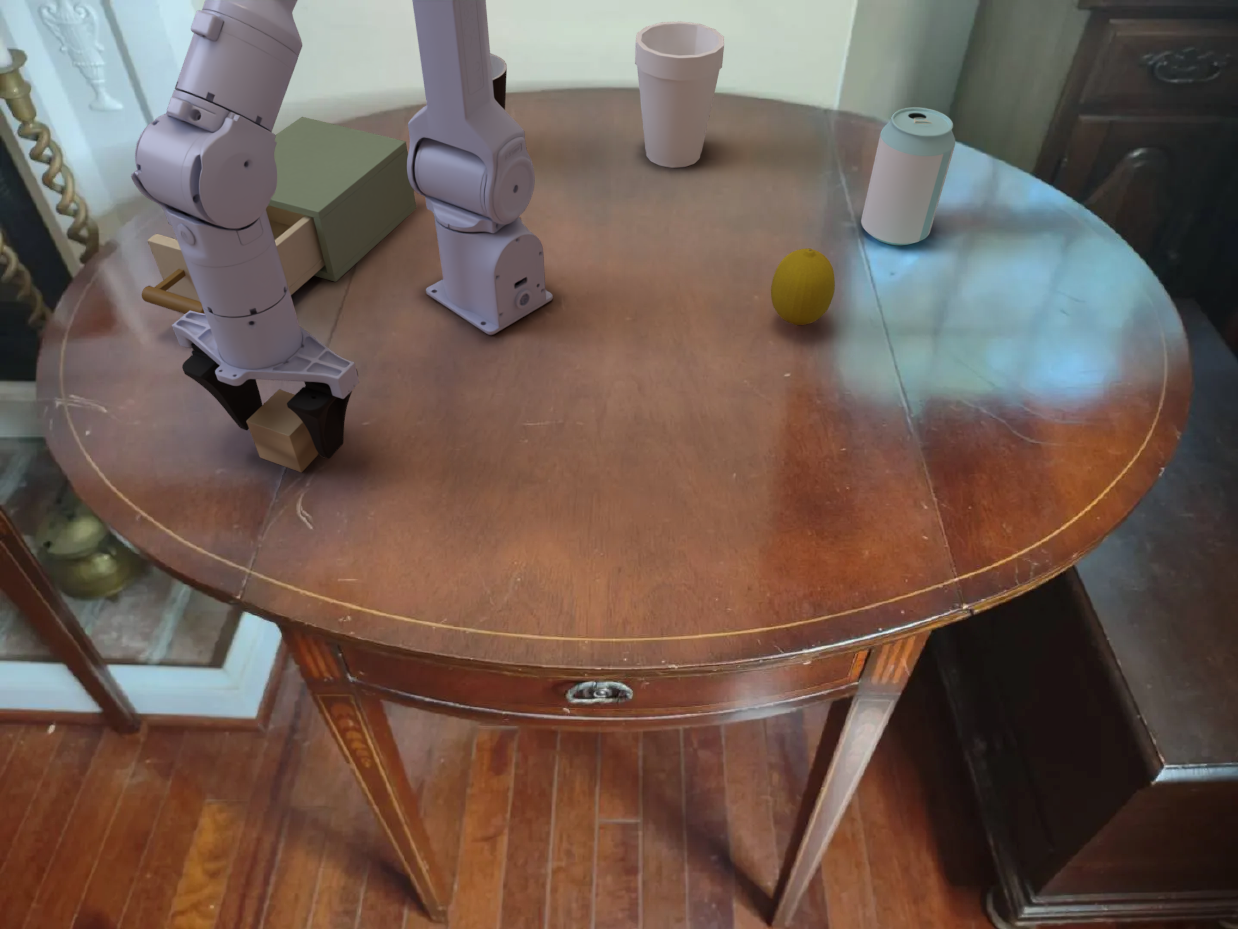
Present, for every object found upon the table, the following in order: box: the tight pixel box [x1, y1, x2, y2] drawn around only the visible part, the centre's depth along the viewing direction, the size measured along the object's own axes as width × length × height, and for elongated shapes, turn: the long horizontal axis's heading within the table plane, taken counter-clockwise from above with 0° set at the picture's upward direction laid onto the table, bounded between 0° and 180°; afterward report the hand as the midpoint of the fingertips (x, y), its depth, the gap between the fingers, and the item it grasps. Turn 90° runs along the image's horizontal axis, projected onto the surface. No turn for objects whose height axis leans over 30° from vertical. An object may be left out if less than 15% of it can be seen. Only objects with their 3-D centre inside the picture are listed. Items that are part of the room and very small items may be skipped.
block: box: [246, 389, 320, 473], centre depth 74 cm, size 4×4×4 cm
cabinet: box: [268, 116, 417, 283], centre depth 94 cm, size 15×13×8 cm
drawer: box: [141, 205, 325, 315], centre depth 87 cm, size 18×11×6 cm, turn 157°
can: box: [860, 106, 956, 246], centre depth 94 cm, size 7×7×12 cm
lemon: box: [770, 248, 836, 326], centre depth 84 cm, size 6×6×8 cm
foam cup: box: [634, 20, 725, 169], centre depth 104 cm, size 10×9×13 cm
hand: (291, 435), depth 74 cm, fingers open, 7 cm apart
